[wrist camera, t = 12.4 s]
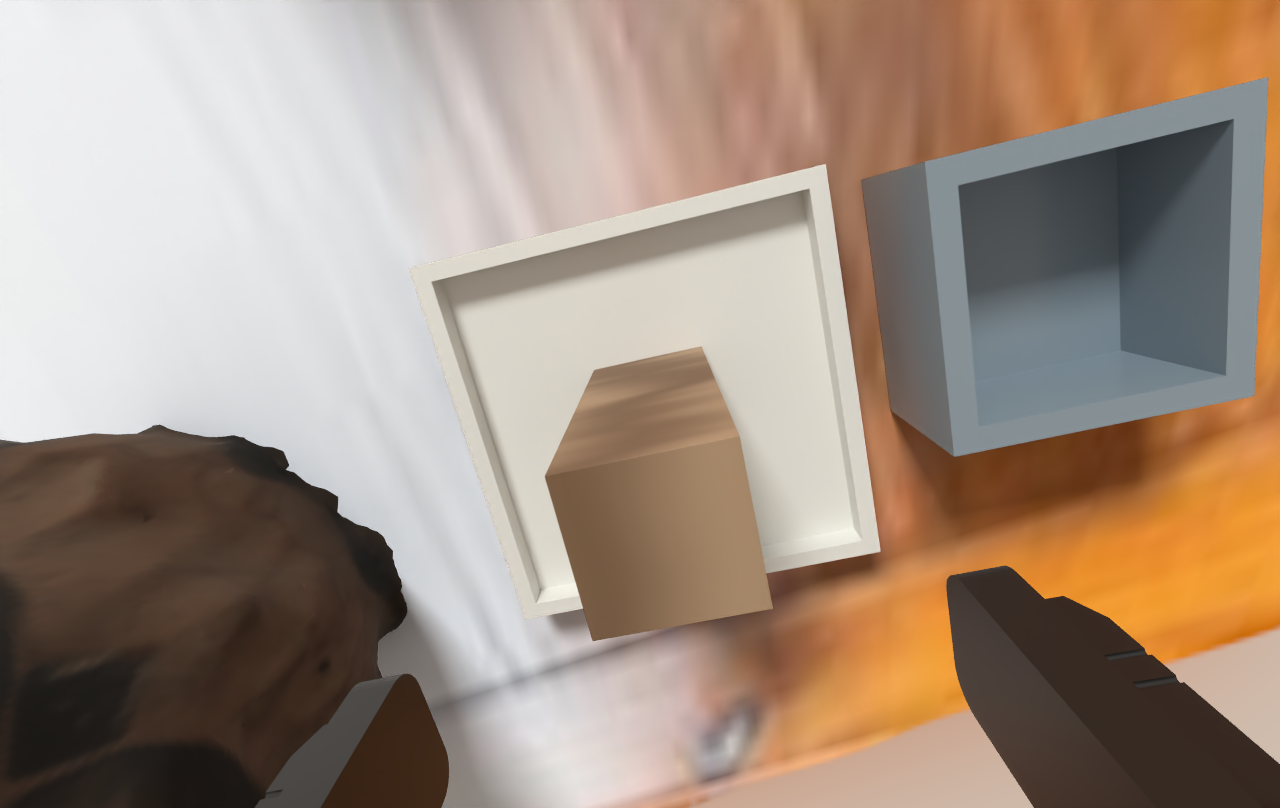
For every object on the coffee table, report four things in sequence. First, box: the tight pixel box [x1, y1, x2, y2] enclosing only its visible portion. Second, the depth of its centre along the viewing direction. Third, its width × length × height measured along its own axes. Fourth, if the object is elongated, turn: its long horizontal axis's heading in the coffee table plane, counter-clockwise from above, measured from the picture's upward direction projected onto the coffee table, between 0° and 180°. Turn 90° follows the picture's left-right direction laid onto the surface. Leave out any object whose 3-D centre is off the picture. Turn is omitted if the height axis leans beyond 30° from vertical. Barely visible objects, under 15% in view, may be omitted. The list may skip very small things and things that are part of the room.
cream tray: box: [409, 164, 881, 620], centre depth 22 cm, size 14×14×2 cm
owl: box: [0, 425, 407, 808], centre depth 15 cm, size 13×13×20 cm
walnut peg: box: [545, 346, 773, 641], centre depth 17 cm, size 4×4×10 cm
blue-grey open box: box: [861, 77, 1268, 457], centre depth 19 cm, size 9×9×5 cm
